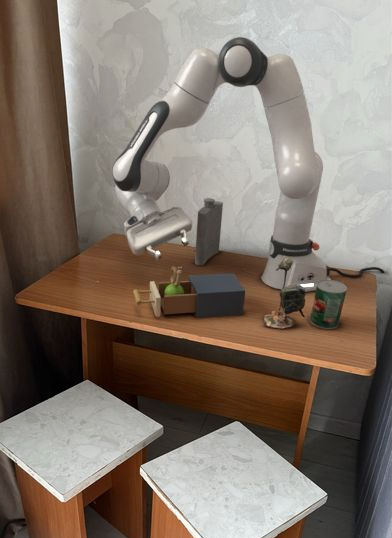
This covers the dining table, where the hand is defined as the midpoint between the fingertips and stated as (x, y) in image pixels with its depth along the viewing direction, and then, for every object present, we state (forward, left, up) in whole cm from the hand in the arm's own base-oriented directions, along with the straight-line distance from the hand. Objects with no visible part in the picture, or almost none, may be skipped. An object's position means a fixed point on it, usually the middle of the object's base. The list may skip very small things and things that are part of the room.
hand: (173, 250), depth 146 cm
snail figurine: (+2, +15, -9) cm, 18 cm away
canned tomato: (-37, +28, -11) cm, 48 cm away
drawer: (+5, +15, -10) cm, 19 cm away
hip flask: (-16, -21, -11) cm, 28 cm away
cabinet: (-9, +15, -11) cm, 21 cm away
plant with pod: (-25, +27, -11) cm, 39 cm away
